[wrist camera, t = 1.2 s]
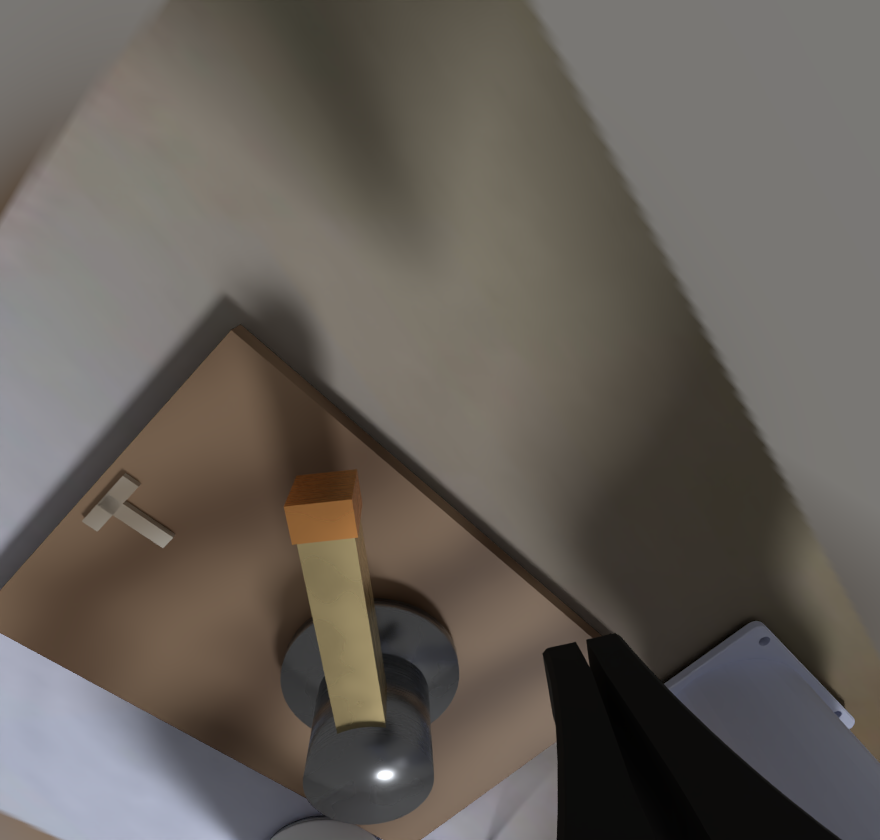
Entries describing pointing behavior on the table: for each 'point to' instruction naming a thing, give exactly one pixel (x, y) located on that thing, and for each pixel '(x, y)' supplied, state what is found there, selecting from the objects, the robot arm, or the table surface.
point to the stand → (279, 583)
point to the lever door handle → (360, 666)
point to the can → (322, 830)
